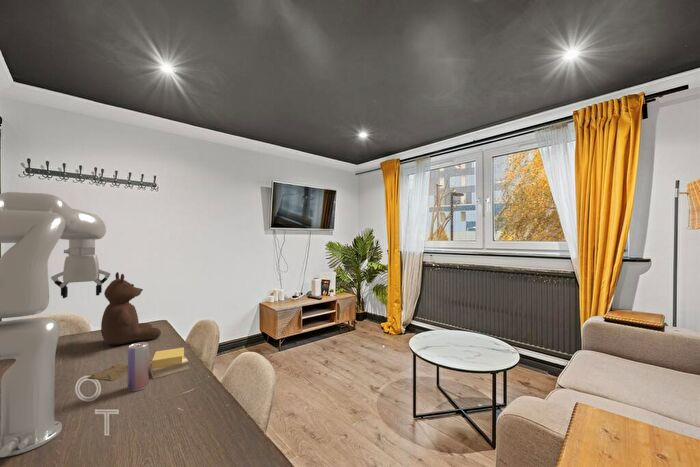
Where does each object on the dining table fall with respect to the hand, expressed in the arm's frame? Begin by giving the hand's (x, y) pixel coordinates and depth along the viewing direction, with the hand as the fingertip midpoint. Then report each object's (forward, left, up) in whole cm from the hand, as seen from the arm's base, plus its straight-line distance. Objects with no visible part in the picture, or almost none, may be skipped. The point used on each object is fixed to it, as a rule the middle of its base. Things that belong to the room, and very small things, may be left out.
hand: (81, 296), depth 115 cm
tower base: (-13, -29, -30) cm, 44 cm away
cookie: (-6, -11, -31) cm, 33 cm away
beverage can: (-25, -20, -30) cm, 44 cm away
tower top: (-13, -29, -27) cm, 42 cm away
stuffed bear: (+35, -12, -30) cm, 48 cm away
